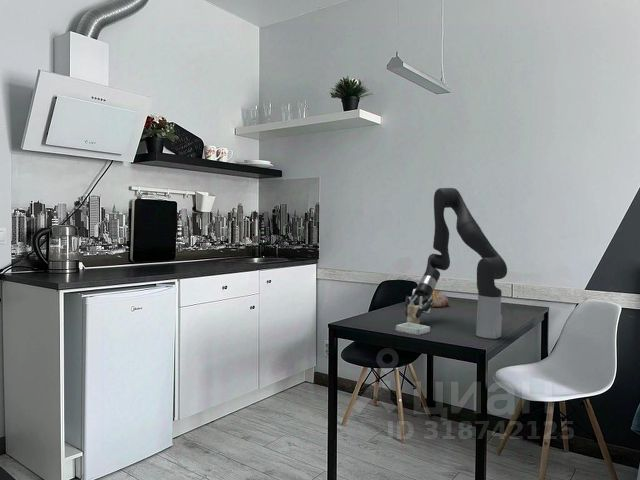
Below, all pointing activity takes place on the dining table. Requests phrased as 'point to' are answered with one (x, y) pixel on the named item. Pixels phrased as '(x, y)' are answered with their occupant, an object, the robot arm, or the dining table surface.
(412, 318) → the birch block
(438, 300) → the bread
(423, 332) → the tray
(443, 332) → the dining table surface
